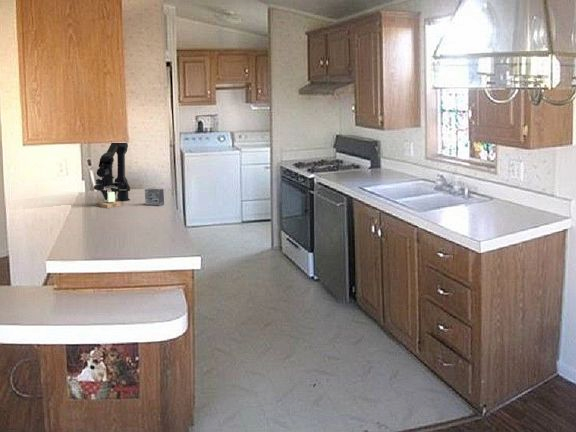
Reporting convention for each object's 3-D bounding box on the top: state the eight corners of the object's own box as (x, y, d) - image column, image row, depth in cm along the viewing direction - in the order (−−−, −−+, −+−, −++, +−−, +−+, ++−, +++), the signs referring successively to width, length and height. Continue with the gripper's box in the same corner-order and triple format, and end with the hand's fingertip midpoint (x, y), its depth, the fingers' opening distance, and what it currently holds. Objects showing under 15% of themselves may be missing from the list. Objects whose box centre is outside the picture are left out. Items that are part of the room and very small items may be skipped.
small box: (164, 204, 437) (164, 188, 435) (159, 206, 431) (159, 190, 429) (150, 204, 440) (149, 188, 438) (145, 205, 434) (144, 189, 432)
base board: (112, 203, 444) (112, 200, 444) (123, 205, 436) (123, 202, 436) (96, 206, 435) (96, 203, 435) (107, 208, 427) (107, 204, 427)
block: (110, 200, 438) (110, 191, 437) (115, 201, 435) (114, 191, 434) (104, 201, 435) (103, 192, 434) (108, 202, 432) (108, 192, 430)
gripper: (112, 172, 444) (114, 196, 447) (87, 175, 430) (89, 200, 433) (123, 174, 437) (124, 198, 440) (98, 177, 423) (99, 201, 426)
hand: (109, 199), depth 435 cm, fingers closed on block, 5 cm apart
